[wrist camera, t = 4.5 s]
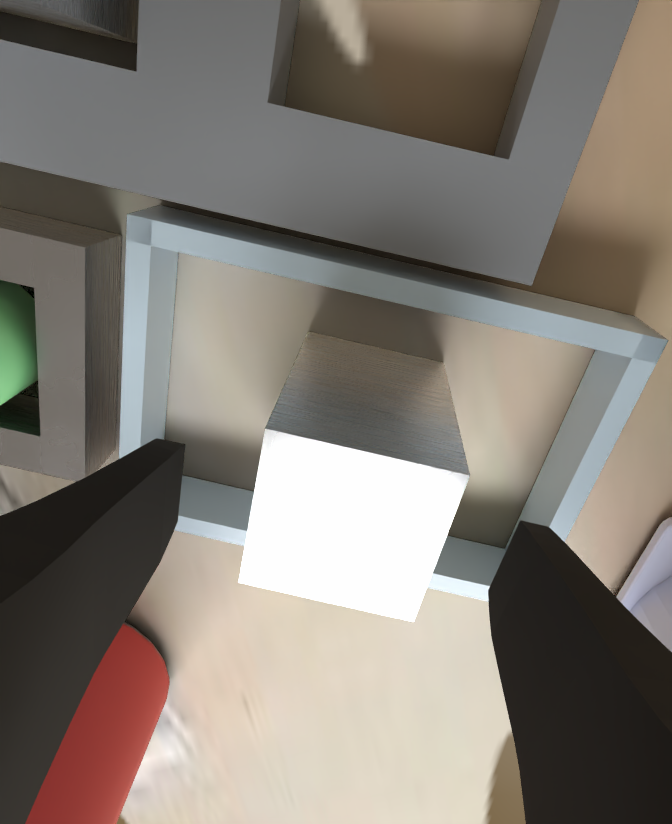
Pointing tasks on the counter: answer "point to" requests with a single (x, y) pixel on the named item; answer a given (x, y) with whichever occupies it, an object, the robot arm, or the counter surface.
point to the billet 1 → (82, 15)
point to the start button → (16, 340)
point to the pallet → (313, 134)
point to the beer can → (106, 736)
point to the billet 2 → (356, 479)
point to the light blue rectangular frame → (400, 283)
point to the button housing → (64, 345)
